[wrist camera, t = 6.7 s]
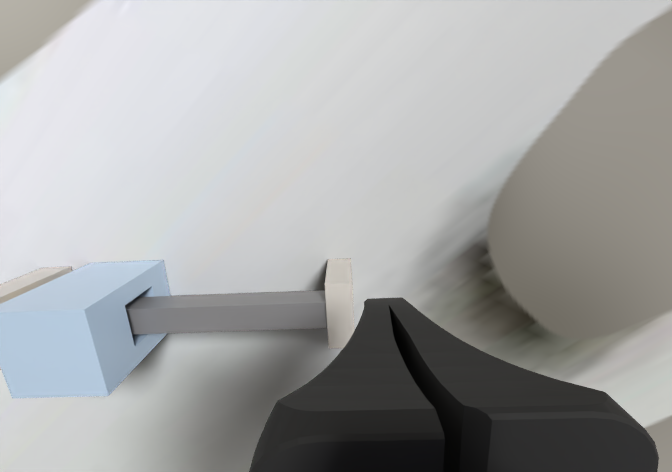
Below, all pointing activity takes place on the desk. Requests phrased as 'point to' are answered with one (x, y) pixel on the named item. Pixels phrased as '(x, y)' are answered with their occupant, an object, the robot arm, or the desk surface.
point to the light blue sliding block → (78, 330)
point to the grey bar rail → (231, 307)
